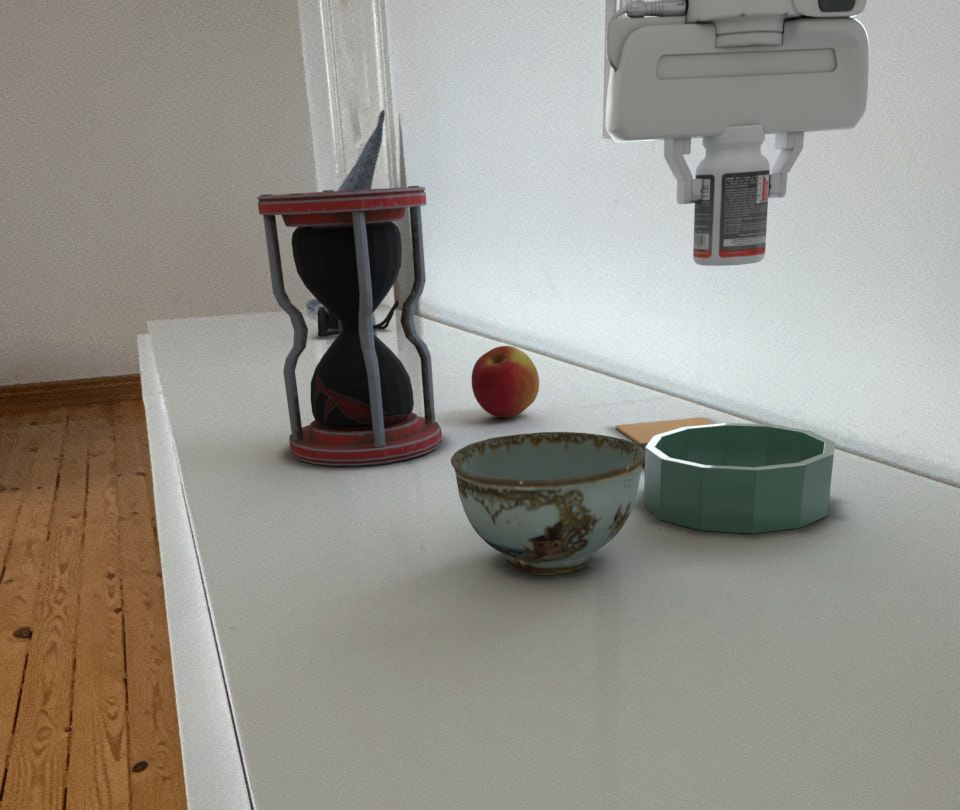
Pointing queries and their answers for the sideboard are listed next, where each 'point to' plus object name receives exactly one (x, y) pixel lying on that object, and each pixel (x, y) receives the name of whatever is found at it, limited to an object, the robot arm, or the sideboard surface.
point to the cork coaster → (657, 428)
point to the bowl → (548, 495)
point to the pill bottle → (732, 199)
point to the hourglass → (353, 324)
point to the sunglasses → (331, 322)
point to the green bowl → (738, 477)
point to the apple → (505, 381)
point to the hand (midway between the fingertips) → (731, 200)
